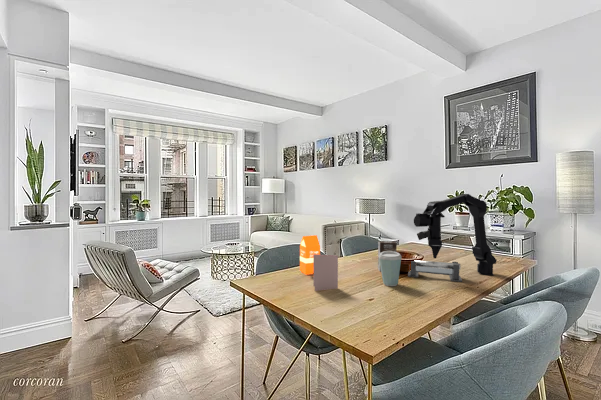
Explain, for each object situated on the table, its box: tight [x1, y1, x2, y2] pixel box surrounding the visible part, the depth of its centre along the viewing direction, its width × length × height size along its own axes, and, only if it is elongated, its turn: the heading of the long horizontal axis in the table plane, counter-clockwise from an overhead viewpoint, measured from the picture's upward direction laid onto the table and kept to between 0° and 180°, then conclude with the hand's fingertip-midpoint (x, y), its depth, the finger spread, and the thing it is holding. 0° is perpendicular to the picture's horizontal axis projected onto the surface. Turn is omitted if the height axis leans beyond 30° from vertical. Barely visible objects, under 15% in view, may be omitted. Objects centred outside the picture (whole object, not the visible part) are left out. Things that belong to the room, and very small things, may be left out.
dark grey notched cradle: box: [407, 261, 463, 283], centre depth 157 cm, size 25×9×8 cm, turn 68°
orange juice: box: [299, 234, 321, 275], centre depth 167 cm, size 8×9×20 cm
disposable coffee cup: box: [377, 251, 402, 287], centre depth 145 cm, size 11×11×15 cm
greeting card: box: [313, 254, 339, 292], centre depth 138 cm, size 11×7×15 cm, turn 74°
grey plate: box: [416, 266, 452, 276], centre depth 169 cm, size 24×11×1 cm, turn 68°
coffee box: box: [377, 240, 398, 272], centre depth 171 cm, size 9×6×16 cm
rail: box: [414, 259, 461, 271], centre depth 157 cm, size 24×3×3 cm, turn 68°
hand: (434, 256), depth 157 cm, fingers open, 9 cm apart
